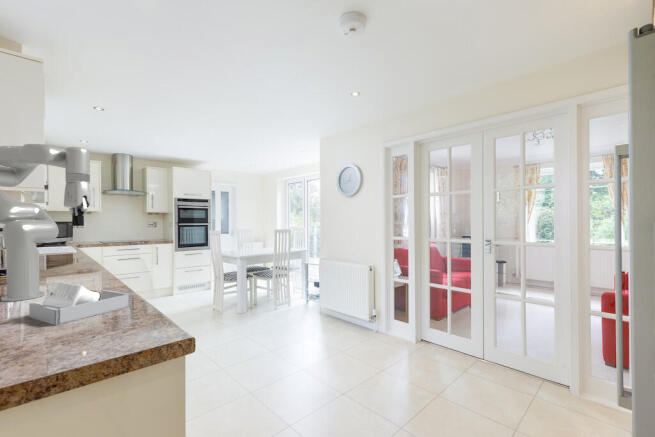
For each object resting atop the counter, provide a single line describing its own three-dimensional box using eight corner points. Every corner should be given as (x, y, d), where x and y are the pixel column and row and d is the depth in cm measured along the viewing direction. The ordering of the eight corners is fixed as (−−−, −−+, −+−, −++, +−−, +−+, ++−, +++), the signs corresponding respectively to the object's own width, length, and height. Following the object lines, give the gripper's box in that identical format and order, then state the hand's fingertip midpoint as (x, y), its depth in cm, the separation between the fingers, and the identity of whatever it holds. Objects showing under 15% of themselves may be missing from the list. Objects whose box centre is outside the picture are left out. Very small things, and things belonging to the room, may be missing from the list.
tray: (29, 317, 99) (29, 303, 99) (104, 301, 119) (104, 289, 119) (56, 325, 91) (56, 310, 91) (131, 306, 111) (131, 294, 111)
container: (61, 284, 105) (104, 292, 109) (49, 307, 101) (94, 314, 106) (54, 280, 98) (101, 289, 103) (41, 304, 95) (90, 313, 100)
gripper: (56, 179, 122) (56, 226, 121) (76, 176, 115) (77, 226, 115) (78, 181, 128) (79, 225, 128) (99, 179, 122) (99, 225, 121)
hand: (78, 225), depth 121 cm, fingers closed
